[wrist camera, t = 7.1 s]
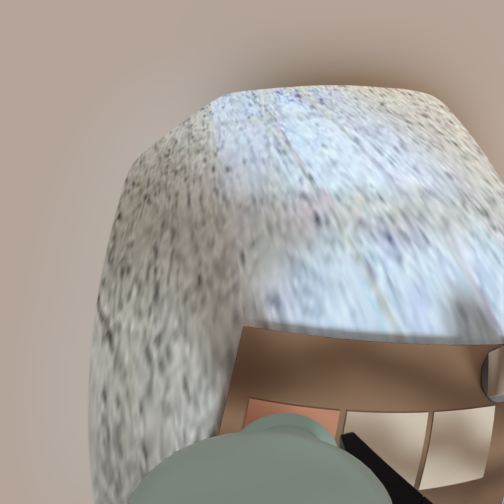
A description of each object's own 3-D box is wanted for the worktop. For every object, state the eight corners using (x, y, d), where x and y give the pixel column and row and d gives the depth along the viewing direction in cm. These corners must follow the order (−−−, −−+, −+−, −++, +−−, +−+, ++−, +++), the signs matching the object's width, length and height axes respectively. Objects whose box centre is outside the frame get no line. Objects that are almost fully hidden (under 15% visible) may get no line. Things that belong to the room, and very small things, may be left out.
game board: (475, 552, 6) (503, 566, 2) (191, 557, 11) (165, 583, 7) (517, 345, 15) (553, 326, 11) (245, 328, 21) (231, 304, 17)
